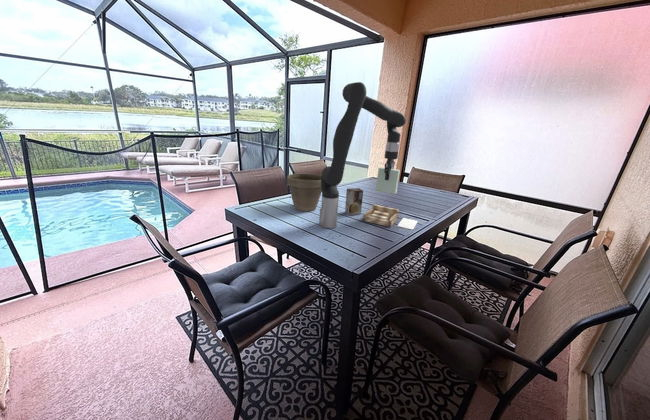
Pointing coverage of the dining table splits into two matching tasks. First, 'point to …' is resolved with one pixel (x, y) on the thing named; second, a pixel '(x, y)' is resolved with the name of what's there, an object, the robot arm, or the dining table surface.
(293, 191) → the plant pot
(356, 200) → the coffee box
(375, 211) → the back offcut
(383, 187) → the pale green upright slab
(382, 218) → the front offcut
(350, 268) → the dining table surface
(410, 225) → the white flat rectangle
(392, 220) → the rack
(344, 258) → the dining table surface
